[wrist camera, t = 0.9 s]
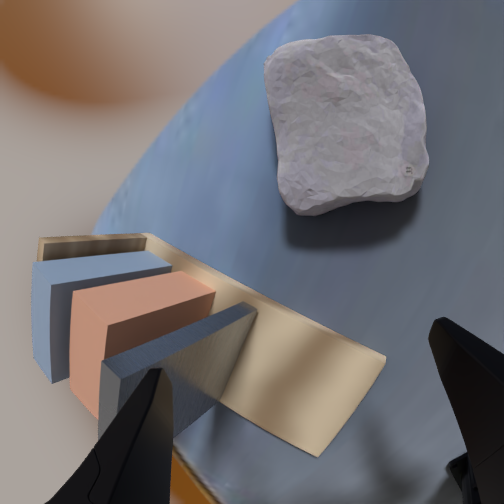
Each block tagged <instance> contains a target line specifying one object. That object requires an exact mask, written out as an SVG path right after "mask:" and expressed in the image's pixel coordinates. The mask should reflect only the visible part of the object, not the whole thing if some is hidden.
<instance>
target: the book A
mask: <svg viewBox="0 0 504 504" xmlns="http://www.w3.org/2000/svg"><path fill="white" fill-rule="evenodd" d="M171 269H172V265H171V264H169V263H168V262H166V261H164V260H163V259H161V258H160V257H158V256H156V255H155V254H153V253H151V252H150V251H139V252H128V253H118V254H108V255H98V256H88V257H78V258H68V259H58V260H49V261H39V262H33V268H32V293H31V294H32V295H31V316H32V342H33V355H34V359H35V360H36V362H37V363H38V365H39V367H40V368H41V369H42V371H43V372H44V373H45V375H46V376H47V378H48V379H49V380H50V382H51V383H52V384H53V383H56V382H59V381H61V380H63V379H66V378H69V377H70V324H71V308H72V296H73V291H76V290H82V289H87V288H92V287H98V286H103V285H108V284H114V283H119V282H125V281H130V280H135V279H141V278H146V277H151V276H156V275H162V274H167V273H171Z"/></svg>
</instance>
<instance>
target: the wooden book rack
mask: <svg viewBox="0 0 504 504" xmlns="http://www.w3.org/2000/svg"><path fill="white" fill-rule="evenodd" d="M139 251H150V252H151V253H153V254H155V255H156V256H158V257H160V258H161V259H163V260H164V261H166V262H168V263H169V264H171V265H172V269H171V273H172V272H178V271H183V272H184V273H186V274H188V275H189V276H191V277H193V278H194V279H196V280H198V281H200V282H201V283H203V284H205V285H206V286H208V287H210V288H212V289H213V290H215V291H216V293H215V296H214V299H213V302H212V305H211V308H210V311H209V314H208V316H211V315H213V314H215V313H218V312H220V311H222V310H224V309H227V308H229V307H231V306H233V305H236V304H238V303H240V302H242V301H244V302H246V303H248V304H250V305H251V306H253V307H255V308H257V309H258V310H257V312H256V315H255V317H254V320H253V322H252V325H251V327H250V330H249V332H248V335H247V337H246V340H245V342H244V345H243V347H242V349H241V352H240V354H239V357H238V359H237V361H236V364H235V366H234V369H233V371H232V373H231V376H230V378H229V381H228V383H227V385H226V388H225V390H224V392H223V395H222V397H221V400H220V401H219V402H221V403H222V404H224V405H225V406H227V407H229V408H230V409H232V410H233V411H235V412H236V413H238V414H240V415H241V416H243V417H245V418H246V419H248V420H250V421H251V422H253V423H255V424H256V425H258V426H260V427H261V428H263V429H265V430H267V431H268V432H270V433H272V434H274V435H276V436H277V437H279V438H281V439H283V440H285V441H287V442H288V443H290V444H292V445H294V446H296V447H298V448H300V449H302V450H304V451H306V452H308V453H310V454H312V455H314V456H316V457H319V455H320V454H321V453H322V452H323V451H324V449H325V448H326V447H327V446H328V444H329V443H330V442H331V441H332V440H333V438H334V437H335V436H336V434H337V433H338V432H339V431H340V429H341V428H342V427H343V425H344V424H345V423H346V421H347V420H348V419H349V417H350V416H351V415H352V413H353V412H354V410H355V409H356V408H357V406H358V405H359V403H360V402H361V401H362V399H363V398H364V396H365V395H366V393H367V392H368V390H369V389H370V387H371V386H372V384H373V383H374V381H375V380H376V378H377V376H378V375H379V373H380V372H381V370H382V368H383V367H384V365H385V363H386V356H384V355H382V354H380V353H378V352H376V351H374V350H371V349H369V348H367V347H365V346H363V345H361V344H359V343H357V342H355V341H353V340H351V339H349V338H347V337H345V336H343V335H341V334H339V333H337V332H335V331H333V330H331V329H329V328H327V327H325V326H323V325H321V324H319V323H317V322H315V321H313V320H311V319H309V318H307V317H305V316H303V315H301V314H299V313H297V312H295V311H293V310H291V309H289V308H287V307H285V306H283V305H281V304H279V303H277V302H275V301H274V300H272V299H270V298H268V297H266V296H264V295H262V294H260V293H258V292H256V291H254V290H253V289H251V288H249V287H247V286H245V285H243V284H241V283H239V282H237V281H236V280H234V279H232V278H230V277H228V276H226V275H224V274H223V273H221V272H219V271H217V270H215V269H213V268H211V267H210V266H208V265H206V264H204V263H202V262H200V261H199V260H197V259H195V258H193V257H191V256H190V255H188V254H186V253H184V252H182V251H181V250H179V249H177V248H175V247H173V246H172V245H170V244H168V243H166V242H164V241H163V240H161V239H159V238H157V237H156V236H154V235H152V234H150V233H135V234H108V235H85V236H65V237H64V236H63V237H44V238H39V244H38V253H37V262H39V261H49V260H58V259H68V258H78V257H88V256H98V255H108V254H118V253H128V252H139Z"/></svg>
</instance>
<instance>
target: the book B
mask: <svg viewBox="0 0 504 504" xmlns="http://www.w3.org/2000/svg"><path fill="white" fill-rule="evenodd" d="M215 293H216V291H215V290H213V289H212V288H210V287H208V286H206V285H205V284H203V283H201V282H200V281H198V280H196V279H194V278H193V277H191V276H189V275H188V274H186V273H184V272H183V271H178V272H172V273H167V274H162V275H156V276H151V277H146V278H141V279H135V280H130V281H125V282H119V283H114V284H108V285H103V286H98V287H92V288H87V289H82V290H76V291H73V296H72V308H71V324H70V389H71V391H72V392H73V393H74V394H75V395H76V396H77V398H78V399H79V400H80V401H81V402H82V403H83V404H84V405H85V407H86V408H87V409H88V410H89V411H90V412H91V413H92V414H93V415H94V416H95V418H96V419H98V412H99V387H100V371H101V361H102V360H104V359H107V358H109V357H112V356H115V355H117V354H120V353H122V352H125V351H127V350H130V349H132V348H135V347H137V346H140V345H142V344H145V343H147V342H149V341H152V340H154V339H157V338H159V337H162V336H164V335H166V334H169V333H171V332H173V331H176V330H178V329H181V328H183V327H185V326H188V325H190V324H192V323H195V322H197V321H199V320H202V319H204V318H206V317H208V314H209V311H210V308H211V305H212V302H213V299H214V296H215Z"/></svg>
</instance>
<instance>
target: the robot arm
mask: <svg viewBox="0 0 504 504" xmlns="http://www.w3.org/2000/svg"><path fill="white" fill-rule="evenodd" d="M428 340H429V344H430V347H431V350H432V353H433V356H434V359H435V362H436V366H437V369H438V372H439V375H440V378H441V381H442V383H443V386H444V388H445V391H446V393H447V396H448V398H449V401H450V403H451V406H452V408H453V411H454V414H455V416H456V419H457V422H458V425H459V427H460V430H461V433H462V436H463V439H464V442H465V445H466V448H467V453H466V454H464V455H462V456H460V457H458V458H456V459H454V460H452V461H451V462H450V464H449V468H450V470H451V472H452V474H453V476H454V478H455V480H456V481H457V483H458V485H459V487H460V489H461V491H462V495H463V504H504V354H503V353H501V352H500V351H498V350H496V349H495V348H493V347H492V346H490V345H489V344H487V343H486V342H484V341H483V340H481V339H480V338H478V337H476V336H475V335H473V334H472V333H470V332H469V331H467V330H465V329H464V328H462V327H461V326H459V325H458V324H456V323H454V322H453V321H451V320H450V319H448V318H446V317H441V318H438V319H436V320H434V322H433V325H432V327H431V330H430V333H429V337H428ZM173 431H174V421H173V390H172V383H171V380H170V379H169V377H168V375H167V374H166V372H165V370H164V369H163V368H162V367H156V368H150V369H149V370H148V372H147V373H146V374H145V376H144V377H143V378H142V380H141V381H140V383H139V384H138V385H137V387H136V388H135V390H134V391H133V392H132V394H131V395H130V397H129V398H128V399H127V401H126V402H125V404H124V405H123V406H122V408H121V409H120V411H119V412H118V413H117V415H116V416H115V418H114V419H113V420H112V422H111V423H110V425H109V426H108V427H107V429H106V430H105V432H104V433H103V435H102V436H101V437H100V439H99V440H98V442H97V443H96V444H95V446H94V448H93V449H92V450H91V452H90V453H89V454H88V456H87V457H86V458H85V460H84V461H83V462H82V464H81V465H80V467H79V468H78V469H77V470H76V471H75V472H74V474H73V475H72V476H71V477H70V478H69V479H68V481H67V482H66V483H65V484H64V485H63V486H62V487H61V488H60V489H59V491H58V492H57V493H56V494H55V495H54V496H53V497H52V498H51V499H50V500H49V501H48V502H46V503H45V504H169V503H170V502H169V501H170V480H171V461H172V446H173ZM454 464H456V465H454Z"/></svg>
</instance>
